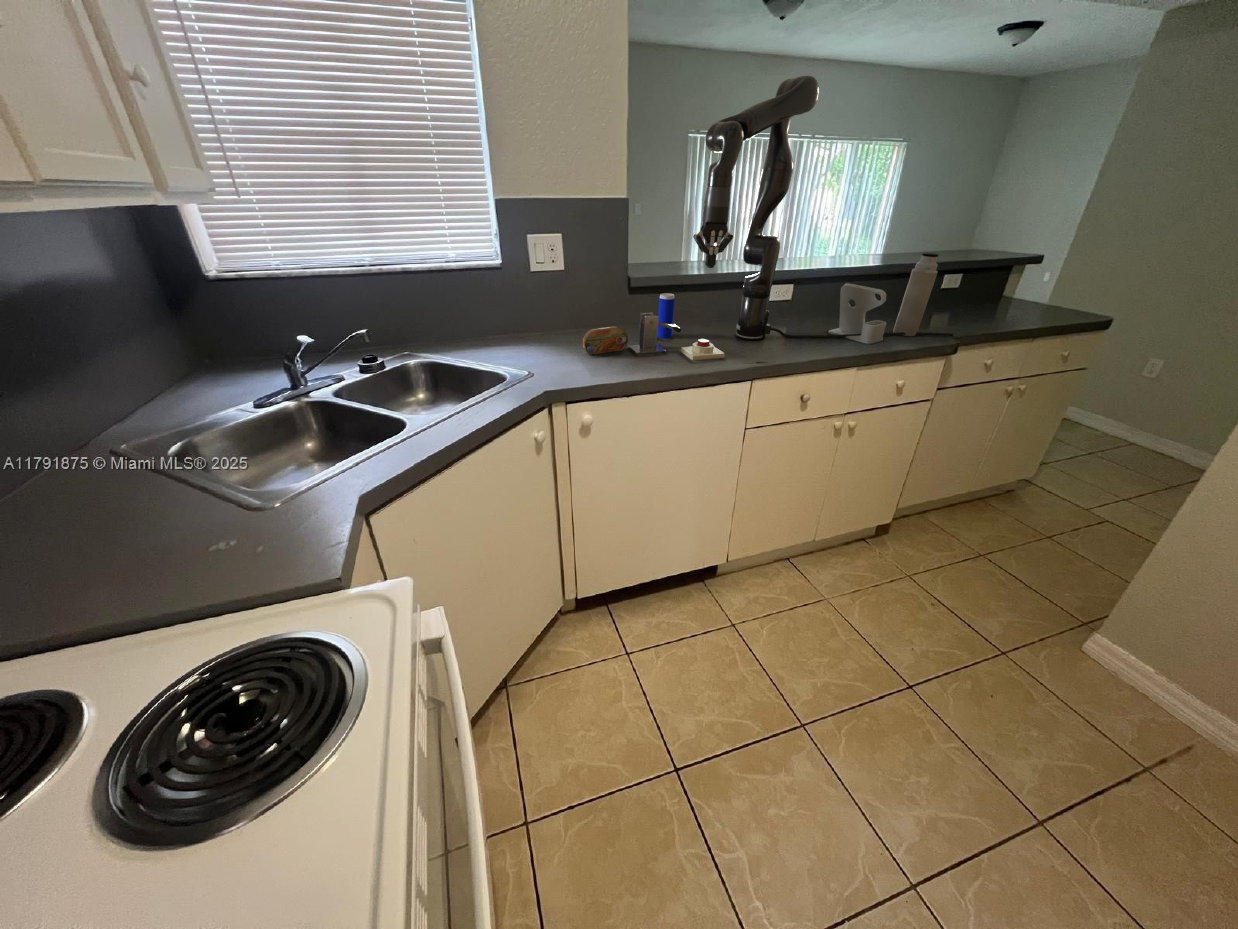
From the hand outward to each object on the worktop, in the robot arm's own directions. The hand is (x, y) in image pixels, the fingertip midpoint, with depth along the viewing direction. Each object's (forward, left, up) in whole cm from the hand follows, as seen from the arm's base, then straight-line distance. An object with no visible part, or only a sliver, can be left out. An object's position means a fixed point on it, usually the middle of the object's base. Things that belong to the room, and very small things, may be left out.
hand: (710, 267), depth 151 cm
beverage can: (+9, -11, -25) cm, 29 cm away
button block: (+5, +11, -25) cm, 28 cm away
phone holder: (-61, +3, -25) cm, 66 cm away
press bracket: (+20, +1, -25) cm, 32 cm away
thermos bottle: (-83, +4, -25) cm, 87 cm away
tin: (+34, 0, -25) cm, 42 cm away
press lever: (+16, +1, -17) cm, 24 cm away
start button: (+5, +10, -21) cm, 24 cm away
